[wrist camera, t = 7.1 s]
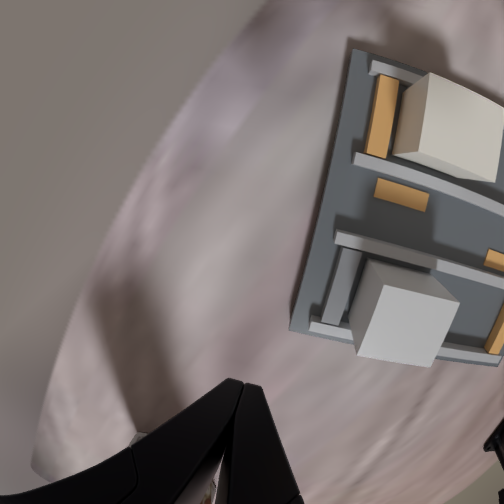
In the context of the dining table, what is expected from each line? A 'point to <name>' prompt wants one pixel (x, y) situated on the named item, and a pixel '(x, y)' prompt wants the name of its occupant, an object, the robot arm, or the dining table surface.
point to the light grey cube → (400, 314)
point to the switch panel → (402, 222)
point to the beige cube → (449, 129)
